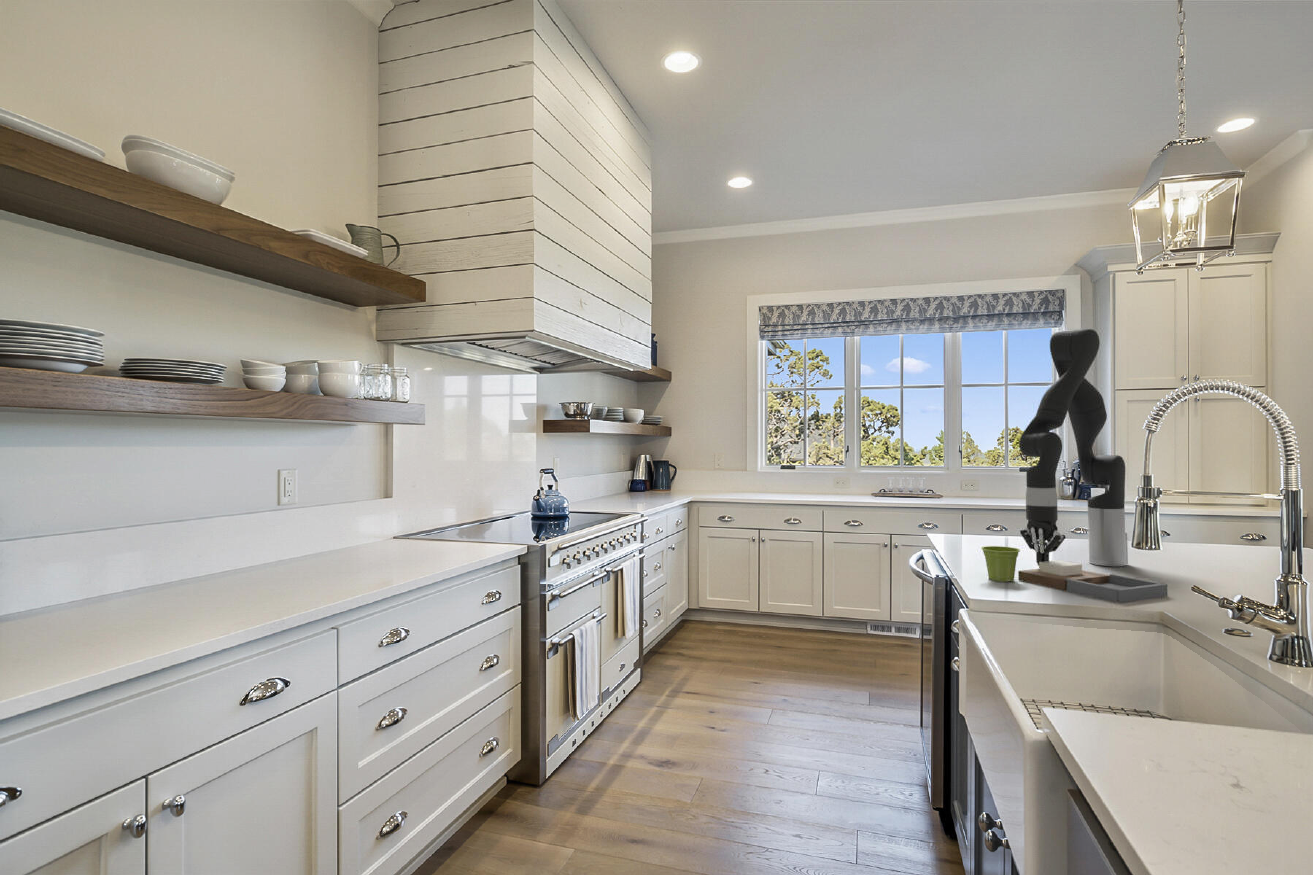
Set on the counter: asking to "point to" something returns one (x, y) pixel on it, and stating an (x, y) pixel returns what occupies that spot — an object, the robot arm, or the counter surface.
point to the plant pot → (1001, 562)
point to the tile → (1060, 568)
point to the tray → (1120, 589)
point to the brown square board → (1060, 578)
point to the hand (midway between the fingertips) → (1042, 565)
